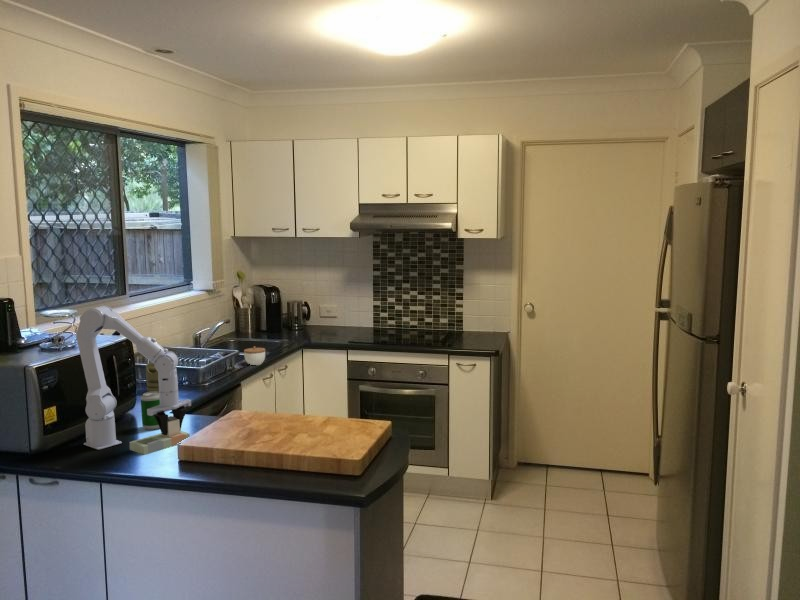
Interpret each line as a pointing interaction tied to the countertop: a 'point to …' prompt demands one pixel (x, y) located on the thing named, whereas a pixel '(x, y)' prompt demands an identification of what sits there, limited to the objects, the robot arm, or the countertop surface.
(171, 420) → the plug
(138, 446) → the socket block
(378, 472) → the countertop surface
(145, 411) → the soda can
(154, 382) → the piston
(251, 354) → the lidded jar
